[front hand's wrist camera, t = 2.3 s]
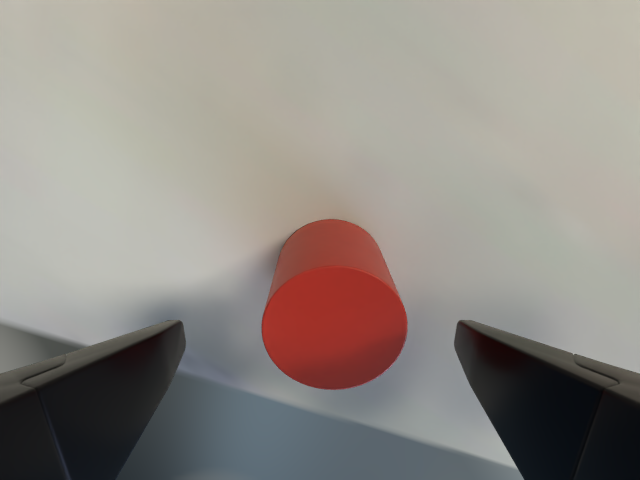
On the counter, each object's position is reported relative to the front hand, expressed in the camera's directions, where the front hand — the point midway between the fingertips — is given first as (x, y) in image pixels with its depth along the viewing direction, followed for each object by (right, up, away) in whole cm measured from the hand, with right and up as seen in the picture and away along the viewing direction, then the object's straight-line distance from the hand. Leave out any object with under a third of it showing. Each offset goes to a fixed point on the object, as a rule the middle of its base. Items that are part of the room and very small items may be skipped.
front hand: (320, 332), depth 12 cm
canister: (0, +2, +5) cm, 5 cm away
